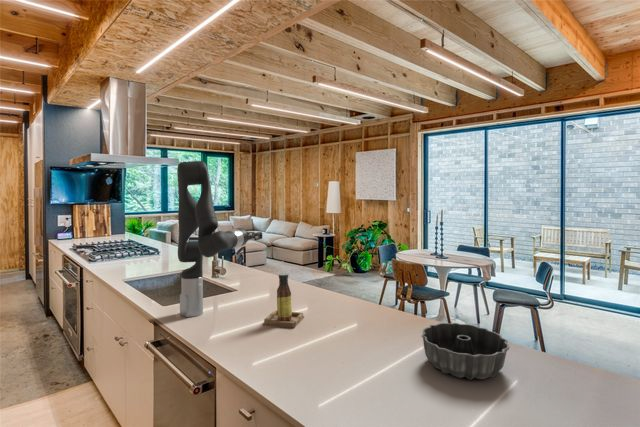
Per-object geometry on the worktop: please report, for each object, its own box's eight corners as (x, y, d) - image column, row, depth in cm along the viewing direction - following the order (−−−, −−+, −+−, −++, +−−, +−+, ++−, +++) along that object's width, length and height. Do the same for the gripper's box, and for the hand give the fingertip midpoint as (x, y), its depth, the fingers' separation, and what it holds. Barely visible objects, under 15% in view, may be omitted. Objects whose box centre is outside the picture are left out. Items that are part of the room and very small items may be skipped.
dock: (294, 328, 153) (294, 323, 153) (263, 324, 157) (263, 320, 156) (304, 317, 167) (304, 312, 167) (275, 314, 170) (275, 310, 170)
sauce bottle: (294, 318, 163) (294, 273, 162) (287, 322, 157) (287, 276, 156) (281, 315, 166) (281, 272, 164) (274, 320, 160) (274, 274, 159)
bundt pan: (503, 397, 102) (504, 362, 102) (410, 372, 116) (411, 341, 116) (511, 361, 125) (513, 332, 124) (433, 344, 139) (433, 317, 138)
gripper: (251, 229, 147) (266, 225, 162) (218, 228, 150) (237, 224, 166) (251, 248, 147) (266, 242, 163) (218, 246, 151) (237, 241, 166)
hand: (251, 233), depth 164 cm, fingers open, 8 cm apart
